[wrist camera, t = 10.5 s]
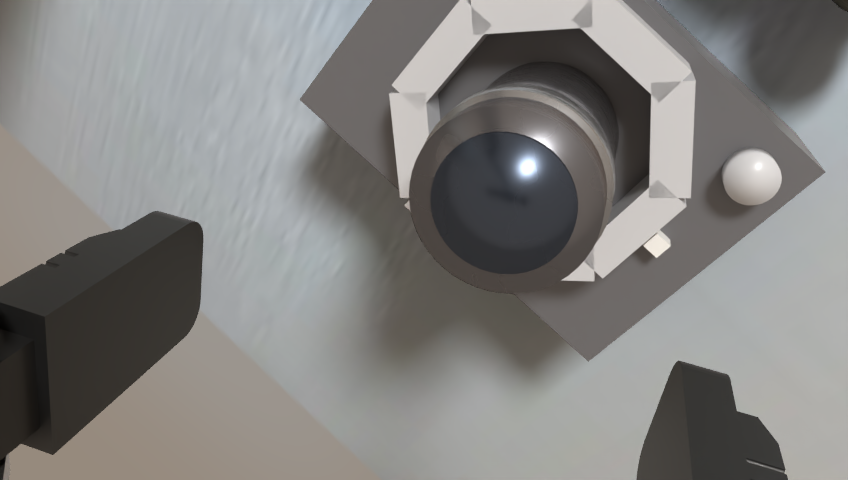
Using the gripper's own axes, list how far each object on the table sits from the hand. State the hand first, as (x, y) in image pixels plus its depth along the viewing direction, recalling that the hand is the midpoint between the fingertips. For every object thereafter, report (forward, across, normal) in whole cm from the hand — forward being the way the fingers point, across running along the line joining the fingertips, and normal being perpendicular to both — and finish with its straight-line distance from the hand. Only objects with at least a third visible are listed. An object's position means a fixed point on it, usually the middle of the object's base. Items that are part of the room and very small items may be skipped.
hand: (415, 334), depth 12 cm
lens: (+14, 0, 0) cm, 14 cm away
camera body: (+19, 0, 0) cm, 19 cm away
